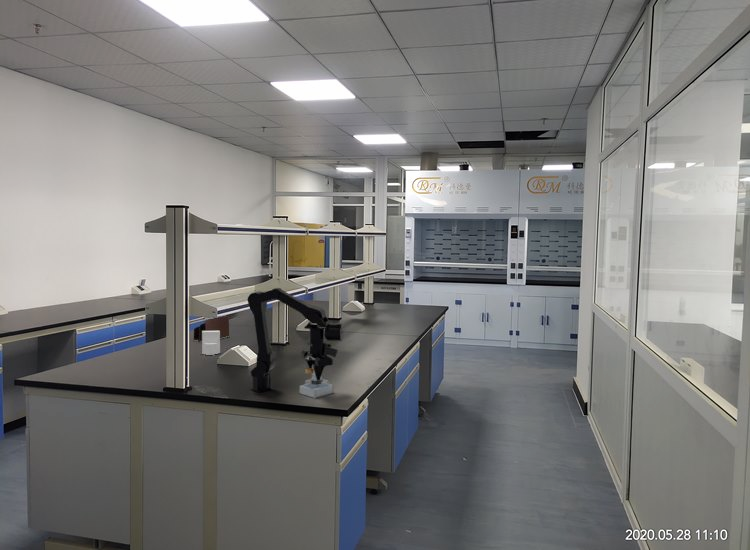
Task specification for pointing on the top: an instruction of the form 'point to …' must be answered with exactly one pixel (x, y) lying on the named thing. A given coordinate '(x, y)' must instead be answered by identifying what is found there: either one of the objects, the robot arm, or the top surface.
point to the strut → (313, 376)
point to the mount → (311, 379)
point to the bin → (316, 389)
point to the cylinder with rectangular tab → (210, 342)
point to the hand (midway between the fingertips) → (316, 378)
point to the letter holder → (213, 327)
